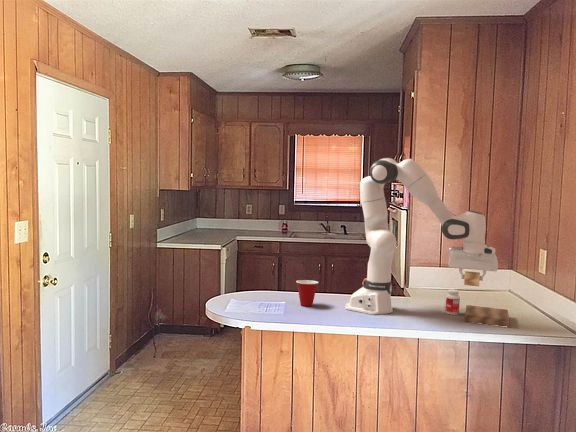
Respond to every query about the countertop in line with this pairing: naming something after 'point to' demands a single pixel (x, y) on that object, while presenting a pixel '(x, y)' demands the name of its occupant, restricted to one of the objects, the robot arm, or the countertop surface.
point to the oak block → (472, 278)
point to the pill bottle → (452, 302)
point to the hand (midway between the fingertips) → (472, 279)
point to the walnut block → (487, 315)
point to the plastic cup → (306, 292)
